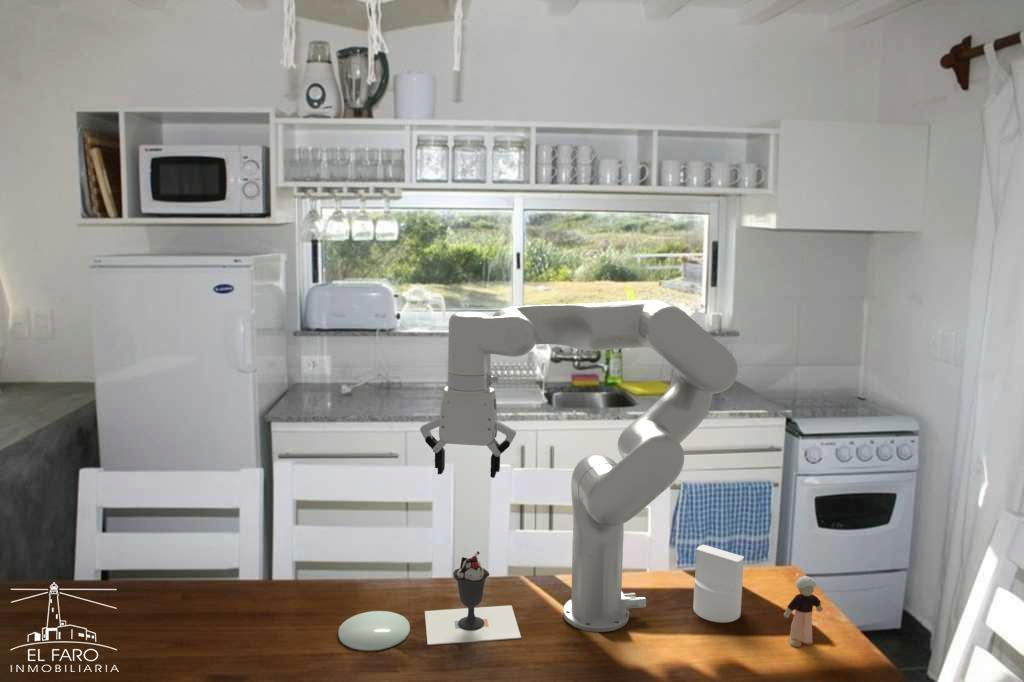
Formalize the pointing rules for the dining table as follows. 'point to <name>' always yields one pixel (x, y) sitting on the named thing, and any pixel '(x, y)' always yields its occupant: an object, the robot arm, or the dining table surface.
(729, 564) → the cylinder with rectangular tab
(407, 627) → the plate
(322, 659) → the dining table surface
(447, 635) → the tile
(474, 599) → the sundae
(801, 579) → the grandmother figurine
